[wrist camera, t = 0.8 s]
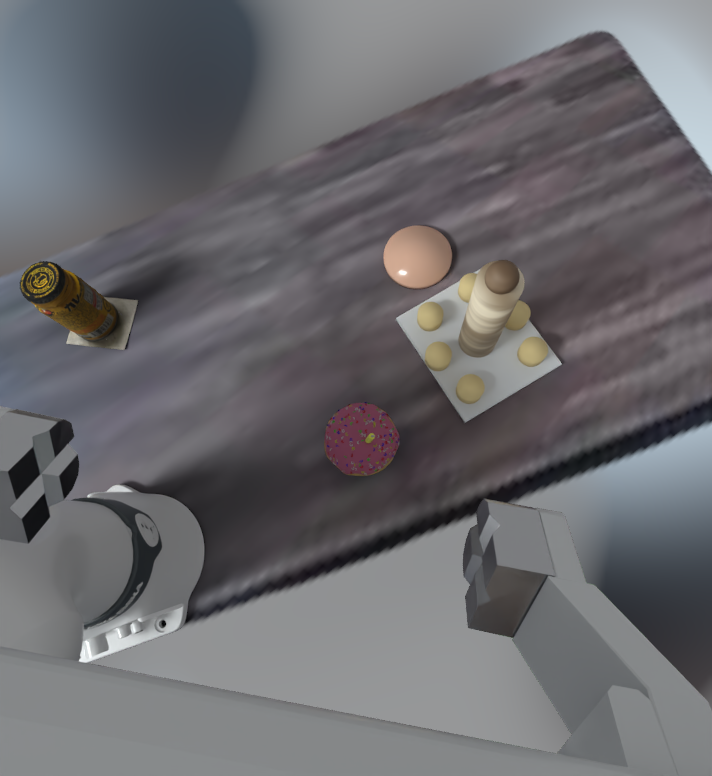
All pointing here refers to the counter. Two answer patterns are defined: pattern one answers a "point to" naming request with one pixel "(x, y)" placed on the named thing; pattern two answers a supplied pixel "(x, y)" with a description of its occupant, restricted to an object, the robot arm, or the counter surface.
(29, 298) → the condiment
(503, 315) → the pepper mill
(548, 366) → the mat
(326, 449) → the cupcake
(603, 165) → the counter surface
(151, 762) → the robot arm
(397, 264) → the coaster
